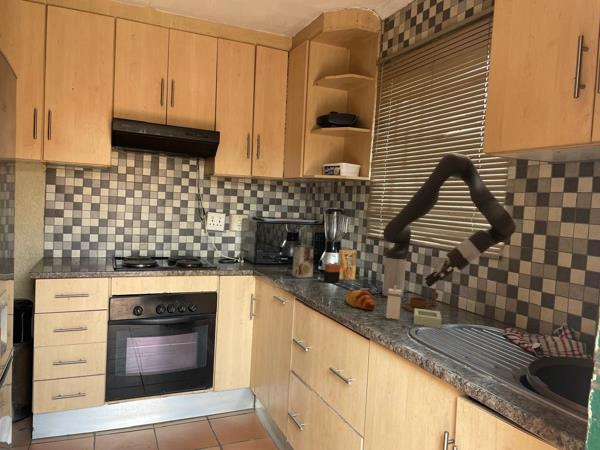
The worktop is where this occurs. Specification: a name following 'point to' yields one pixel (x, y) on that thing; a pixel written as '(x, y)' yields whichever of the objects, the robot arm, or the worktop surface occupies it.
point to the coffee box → (303, 261)
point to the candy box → (347, 264)
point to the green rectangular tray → (427, 318)
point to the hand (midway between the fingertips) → (426, 282)
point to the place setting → (420, 303)
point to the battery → (332, 273)
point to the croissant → (360, 299)
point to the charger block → (393, 303)
